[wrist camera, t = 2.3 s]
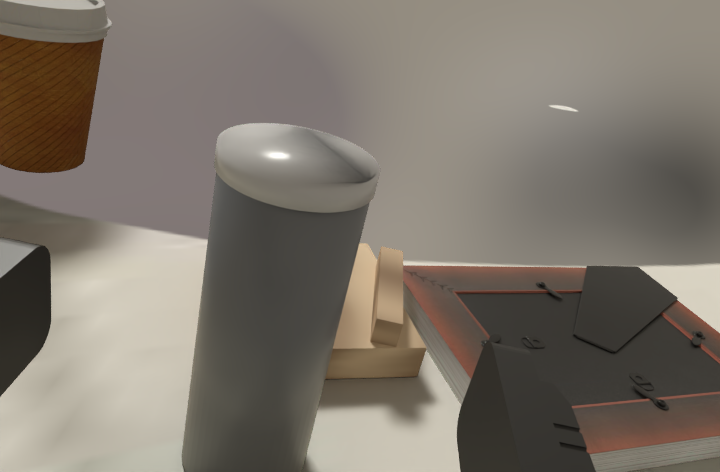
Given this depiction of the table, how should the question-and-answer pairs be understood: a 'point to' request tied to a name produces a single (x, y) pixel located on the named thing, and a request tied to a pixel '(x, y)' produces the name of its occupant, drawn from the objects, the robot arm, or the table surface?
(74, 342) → the table surface
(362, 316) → the stand
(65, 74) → the disposable coffee cup
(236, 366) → the domed lid canister
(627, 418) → the picture frame
